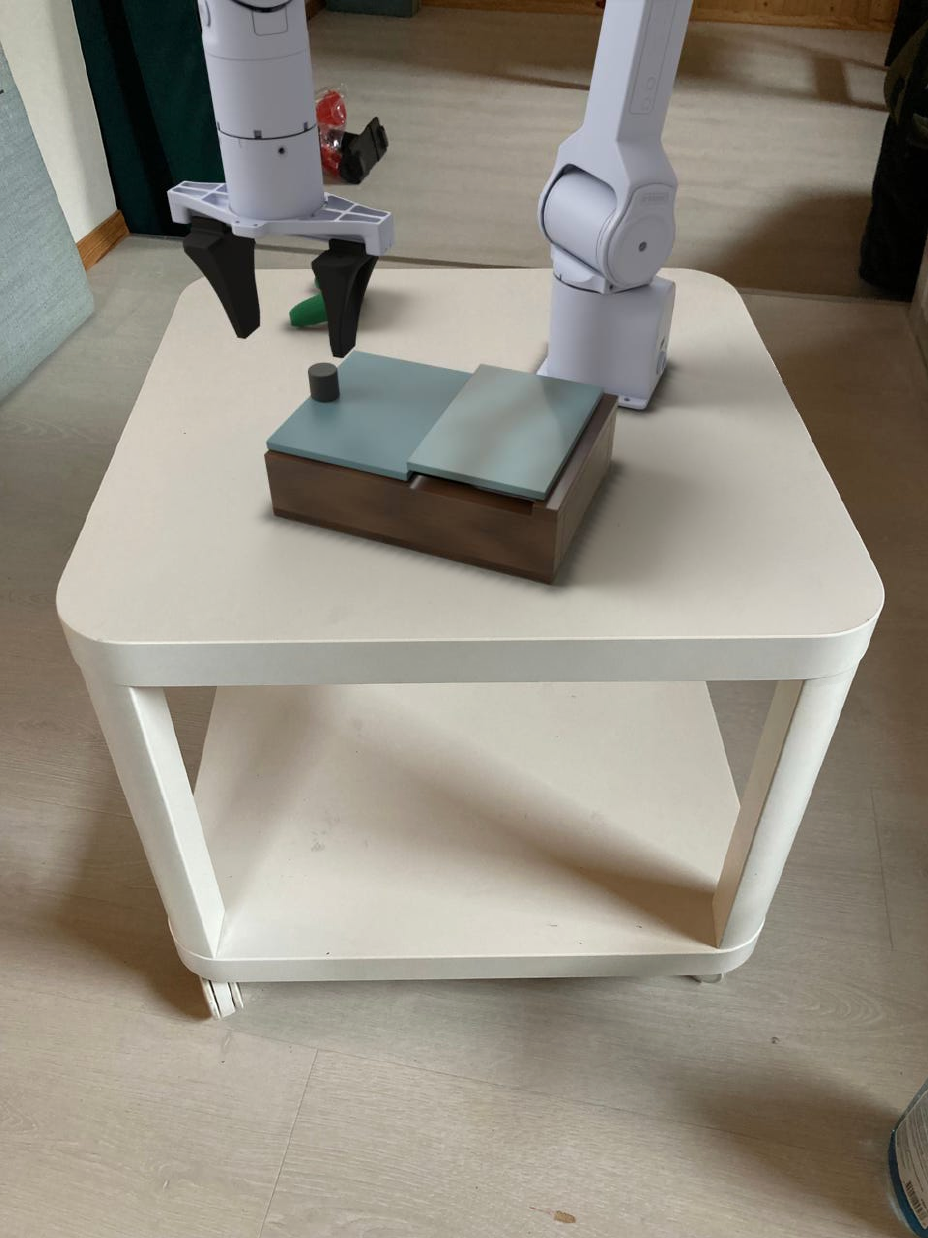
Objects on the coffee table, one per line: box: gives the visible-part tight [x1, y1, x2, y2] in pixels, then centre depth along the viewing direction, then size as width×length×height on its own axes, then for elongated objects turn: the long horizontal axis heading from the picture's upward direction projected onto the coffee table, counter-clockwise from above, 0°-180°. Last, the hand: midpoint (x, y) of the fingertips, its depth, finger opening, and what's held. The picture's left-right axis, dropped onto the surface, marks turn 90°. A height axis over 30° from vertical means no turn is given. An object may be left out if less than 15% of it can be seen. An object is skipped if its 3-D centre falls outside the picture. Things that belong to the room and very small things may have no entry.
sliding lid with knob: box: [265, 350, 474, 481], centre depth 66 cm, size 10×13×3 cm
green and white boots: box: [288, 277, 327, 328], centre depth 88 cm, size 9×4×6 cm
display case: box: [263, 363, 619, 586], centre depth 67 cm, size 20×14×7 cm
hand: (295, 341), depth 66 cm, fingers open, 7 cm apart
